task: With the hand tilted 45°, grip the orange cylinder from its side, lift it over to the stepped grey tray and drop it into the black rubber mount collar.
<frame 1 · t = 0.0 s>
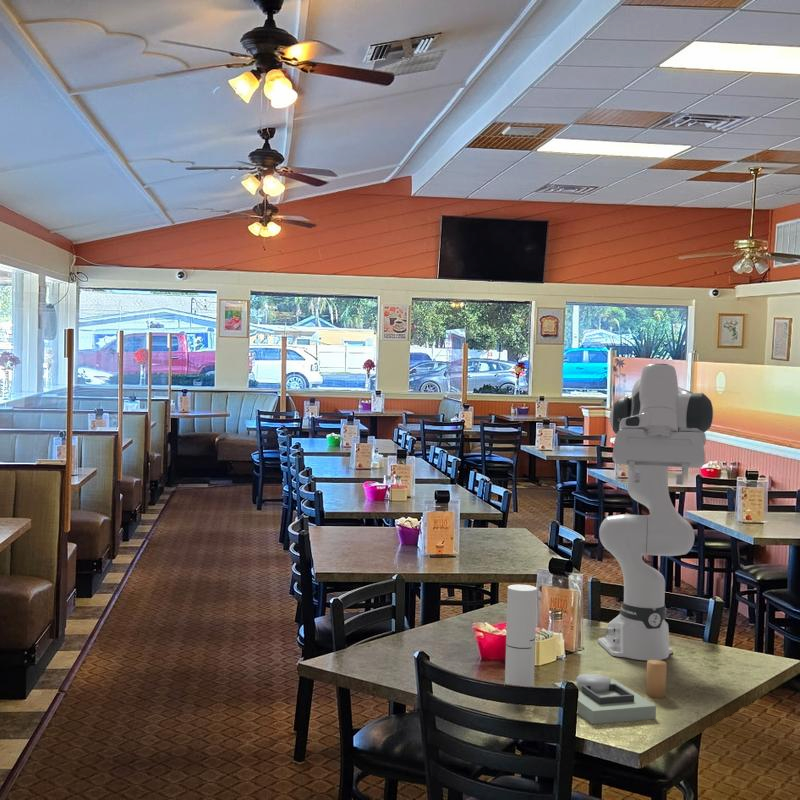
hand: (657, 482, 221), 54 cm above the table, tool tilted 30°, fingers open, 8 cm apart
orange cylinder: (655, 694, 242), on the table
cylindrical container: (519, 688, 245), on the table
stepped grey tray: (603, 706, 233), on the table
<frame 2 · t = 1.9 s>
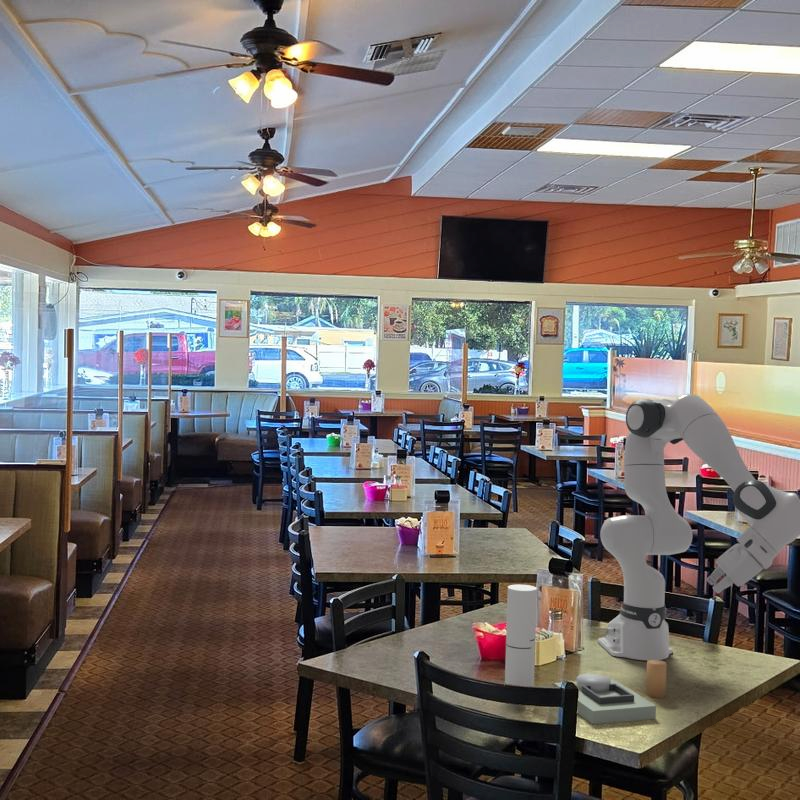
hand: (711, 586, 239), 27 cm above the table, tool tilted 45°, fingers open, 8 cm apart
nothing on the table moved.
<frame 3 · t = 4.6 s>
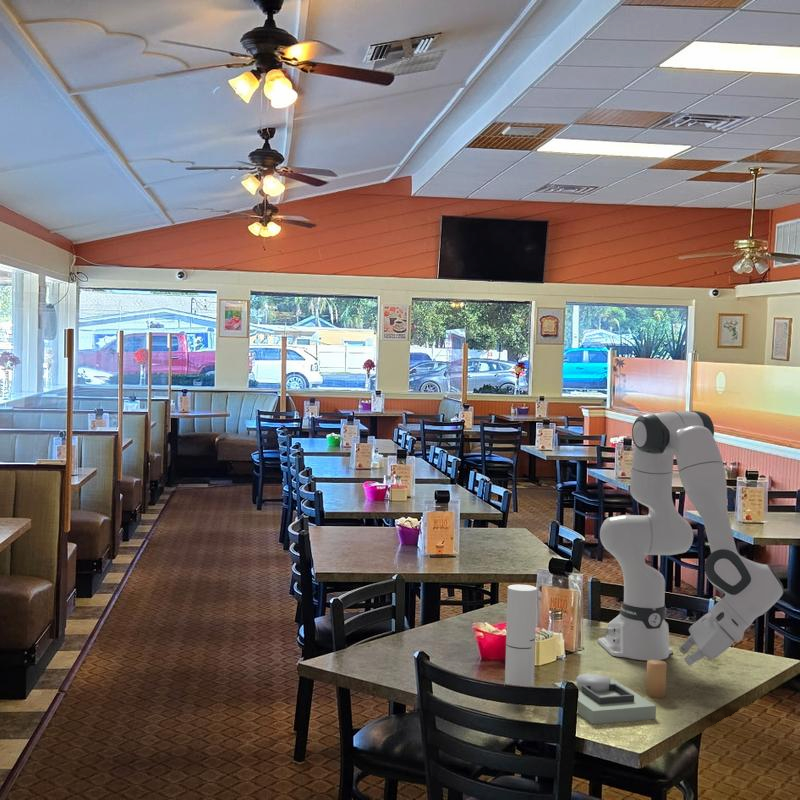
hand: (683, 657, 241), 10 cm above the table, tool tilted 45°, fingers open, 8 cm apart
nothing on the table moved.
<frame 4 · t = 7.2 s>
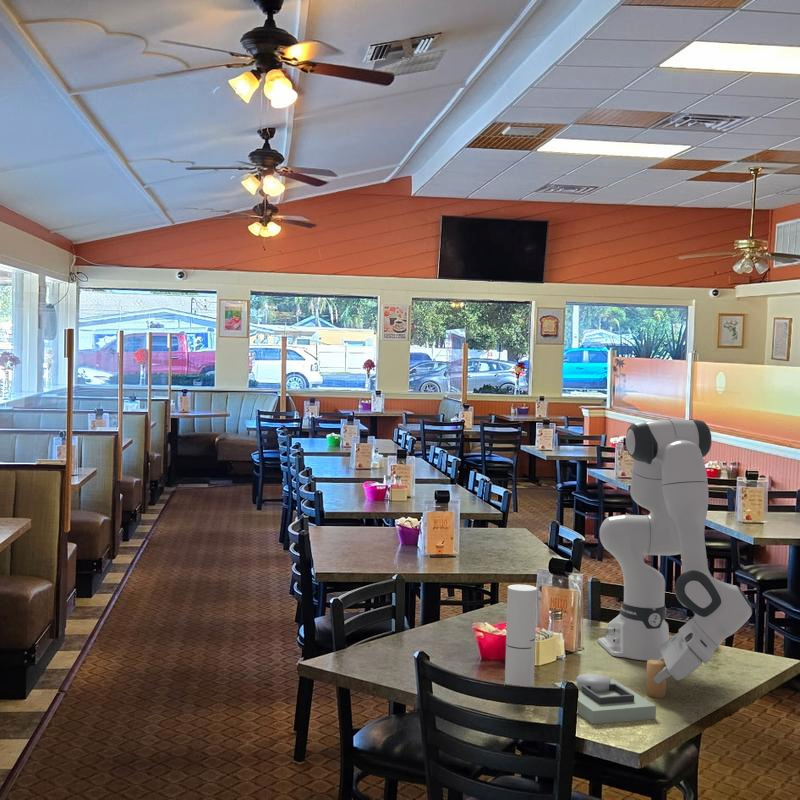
hand: (653, 676, 242), 4 cm above the table, tool tilted 45°, fingers closed on orange cylinder, 5 cm apart
orange cylinder: (655, 694, 242), on the table, touching gripper
everything else where it was.
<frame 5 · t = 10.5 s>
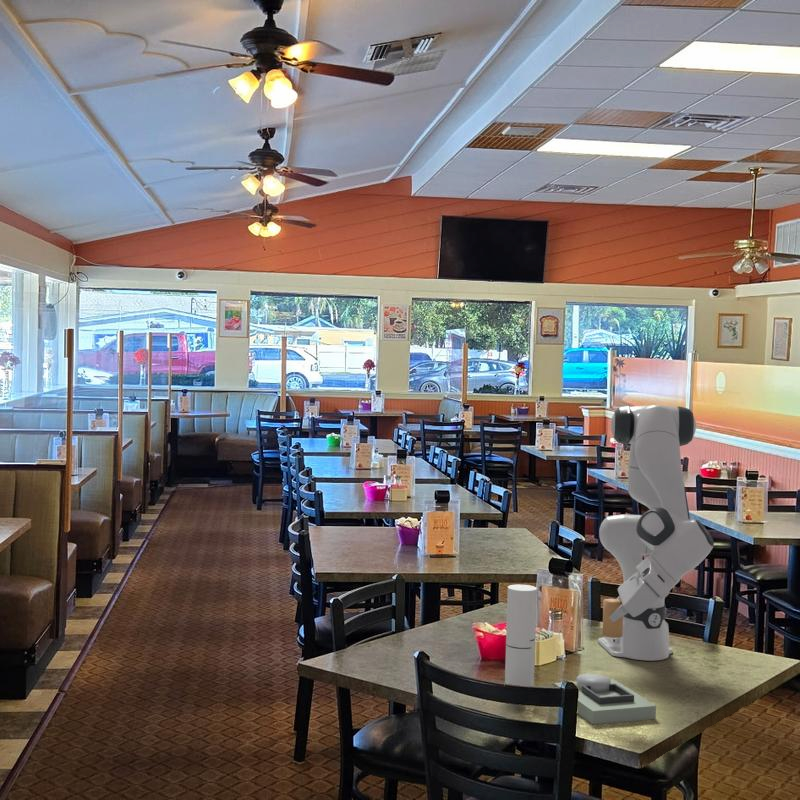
hand: (610, 616, 230), 22 cm above the table, tool tilted 45°, fingers closed on orange cylinder, 5 cm apart
orange cylinder: (612, 635, 230), point 18 cm above the table, touching gripper
everything else where it was.
when the fingers open (10 cm above the table, at t = 13.7 s): orange cylinder drops 2 cm, resting on stepped grey tray.
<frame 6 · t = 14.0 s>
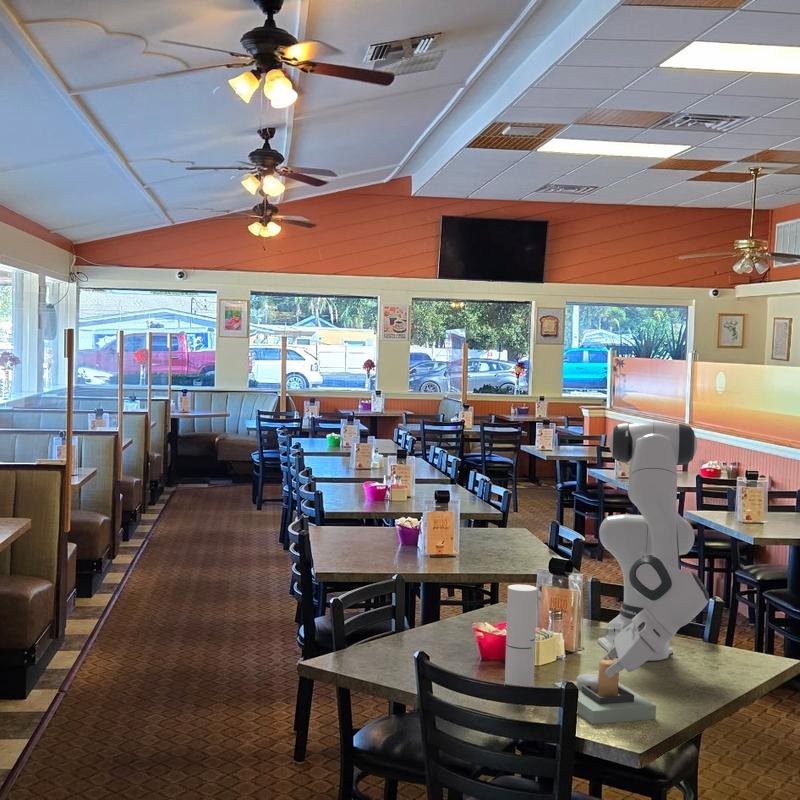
hand: (605, 668, 230), 10 cm above the table, tool tilted 45°, fingers open, 8 cm apart
orange cylinder: (607, 696, 231), point 3 cm above the table, touching stepped grey tray
everything else where it was.
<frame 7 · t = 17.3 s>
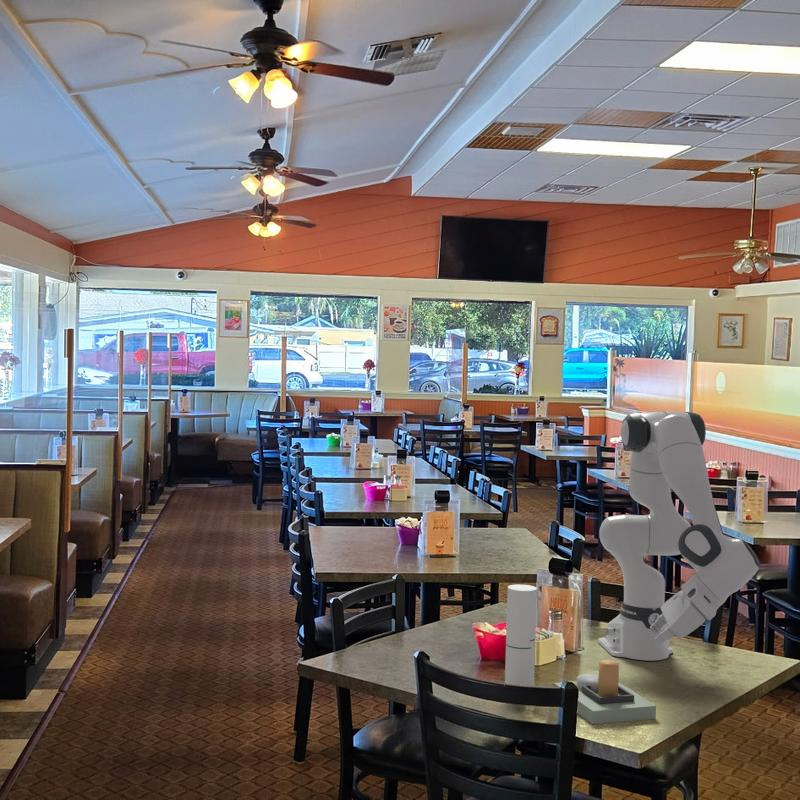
hand: (654, 636, 229), 18 cm above the table, tool tilted 45°, fingers open, 8 cm apart
nothing on the table moved.
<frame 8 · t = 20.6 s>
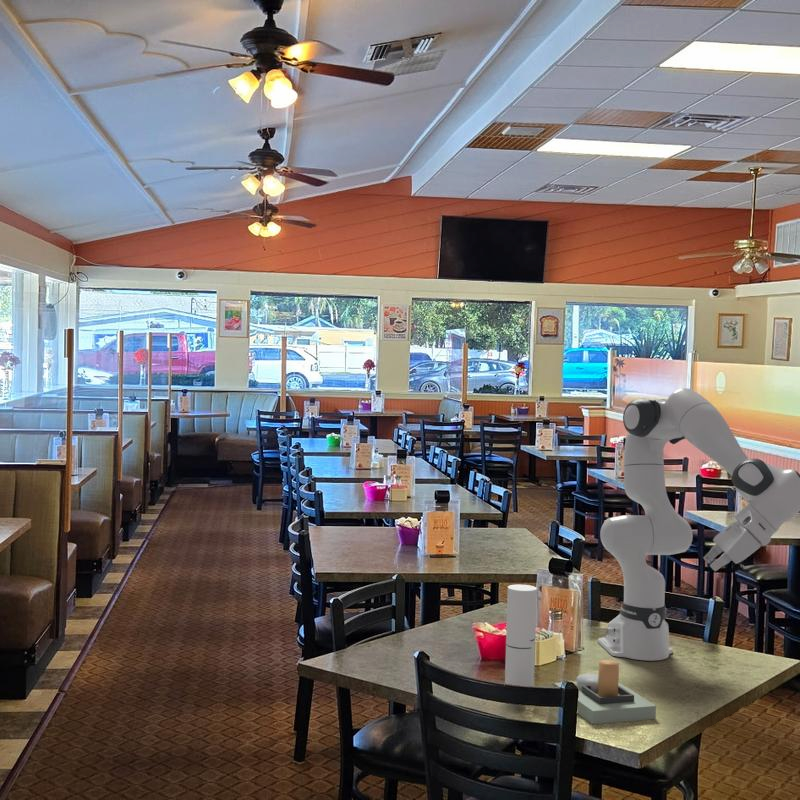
hand: (708, 564, 236), 33 cm above the table, tool tilted 45°, fingers open, 8 cm apart
nothing on the table moved.
at the end: orange cylinder 0.1 cm from the target spot on the stepped grey tray, point 3.0 cm above the stepped grey tray's base; orange cylinder tilted 0°; the gripper is holding nothing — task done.
